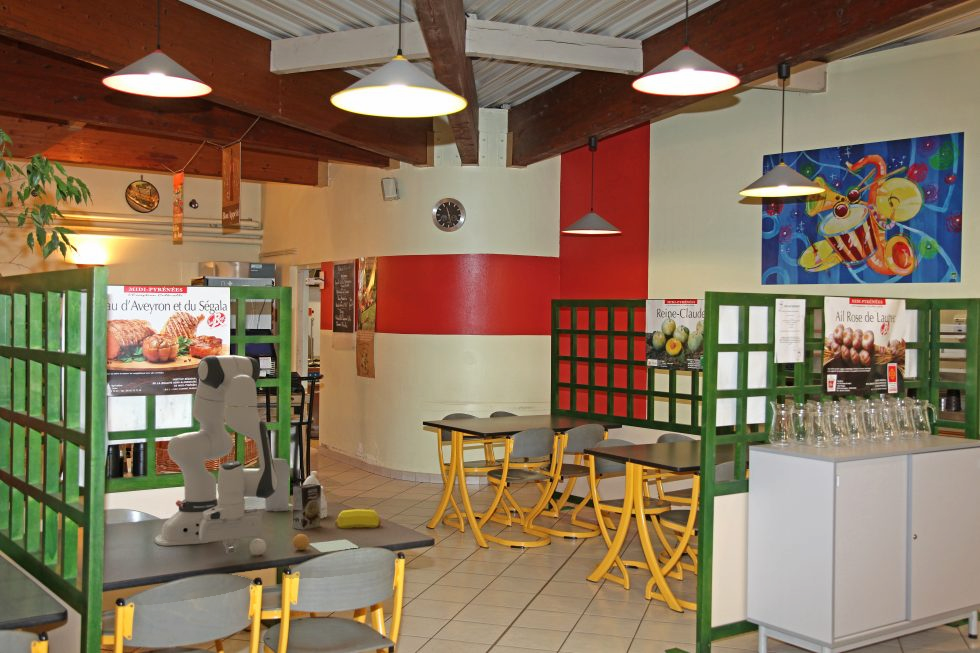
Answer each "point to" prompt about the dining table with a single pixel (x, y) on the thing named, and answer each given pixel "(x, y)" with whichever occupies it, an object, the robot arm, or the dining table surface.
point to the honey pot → (313, 480)
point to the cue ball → (257, 547)
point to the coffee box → (306, 506)
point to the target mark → (333, 545)
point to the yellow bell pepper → (358, 518)
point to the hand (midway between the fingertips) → (230, 552)
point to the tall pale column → (279, 487)
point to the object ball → (300, 542)
